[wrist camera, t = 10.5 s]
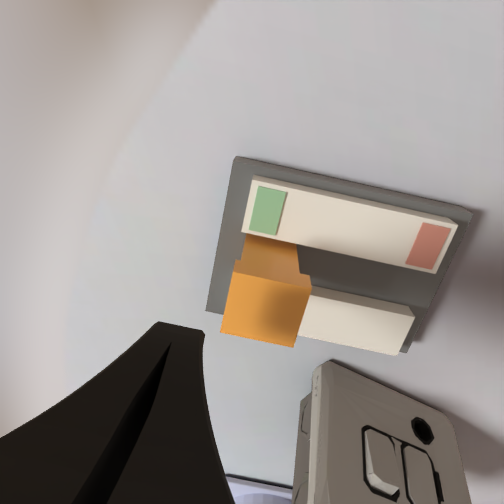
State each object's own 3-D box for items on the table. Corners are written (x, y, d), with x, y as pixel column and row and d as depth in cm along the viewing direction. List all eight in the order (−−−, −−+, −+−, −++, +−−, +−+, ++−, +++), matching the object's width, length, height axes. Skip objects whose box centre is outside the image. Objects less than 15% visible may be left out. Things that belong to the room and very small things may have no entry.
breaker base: (399, 339, 21) (413, 367, 19) (209, 299, 21) (201, 322, 18) (461, 206, 18) (486, 222, 16) (236, 156, 17) (230, 165, 15)
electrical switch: (450, 412, 23) (533, 610, 15) (398, 454, 25) (444, 644, 17) (320, 352, 22) (333, 531, 14) (278, 402, 24) (268, 579, 16)
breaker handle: (289, 283, 18) (293, 347, 14) (234, 271, 18) (220, 332, 14) (302, 236, 17) (312, 288, 13) (244, 223, 17) (232, 272, 13)
